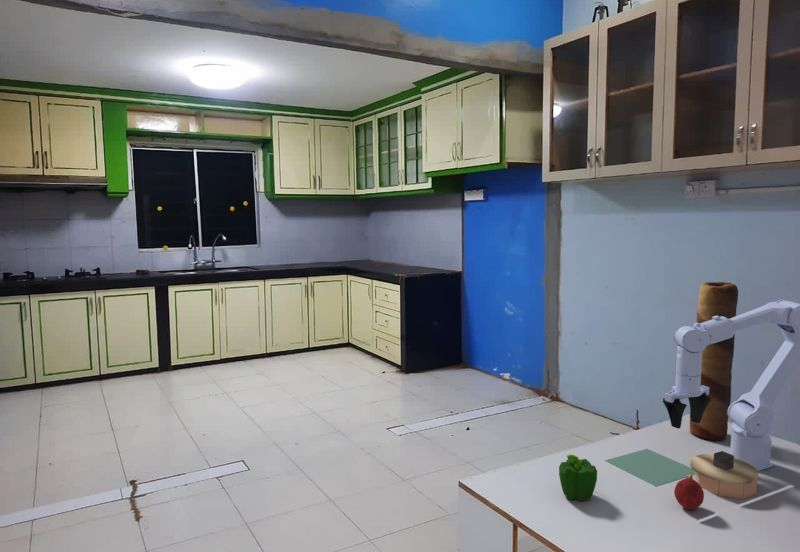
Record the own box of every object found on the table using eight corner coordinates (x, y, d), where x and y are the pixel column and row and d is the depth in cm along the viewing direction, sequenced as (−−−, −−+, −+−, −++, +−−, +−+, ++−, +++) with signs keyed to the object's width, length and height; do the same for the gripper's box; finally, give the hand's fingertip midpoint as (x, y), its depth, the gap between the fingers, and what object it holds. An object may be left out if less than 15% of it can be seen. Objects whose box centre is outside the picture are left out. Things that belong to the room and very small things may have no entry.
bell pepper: (596, 490, 134) (597, 449, 132) (596, 507, 126) (597, 464, 125) (559, 485, 136) (560, 445, 135) (557, 501, 129) (558, 459, 127)
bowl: (717, 471, 142) (717, 456, 142) (765, 492, 132) (766, 475, 131) (685, 481, 137) (685, 466, 137) (733, 504, 126) (734, 487, 126)
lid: (714, 453, 144) (715, 438, 143) (771, 475, 131) (772, 459, 131) (677, 464, 138) (678, 449, 137) (732, 489, 125) (733, 472, 125)
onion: (706, 518, 121) (708, 482, 120) (677, 515, 122) (679, 480, 121) (698, 504, 127) (700, 470, 126) (670, 502, 128) (672, 468, 127)
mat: (647, 450, 155) (647, 448, 155) (700, 473, 141) (700, 472, 141) (604, 462, 148) (604, 460, 148) (656, 488, 134) (656, 486, 134)
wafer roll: (739, 440, 161) (748, 284, 156) (706, 443, 159) (714, 285, 154) (712, 427, 172) (720, 280, 167) (681, 429, 170) (688, 281, 165)
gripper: (693, 366, 151) (690, 415, 153) (655, 373, 145) (653, 424, 147) (717, 372, 145) (714, 423, 147) (679, 380, 139) (677, 433, 140)
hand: (685, 424), depth 146 cm, fingers open, 7 cm apart
